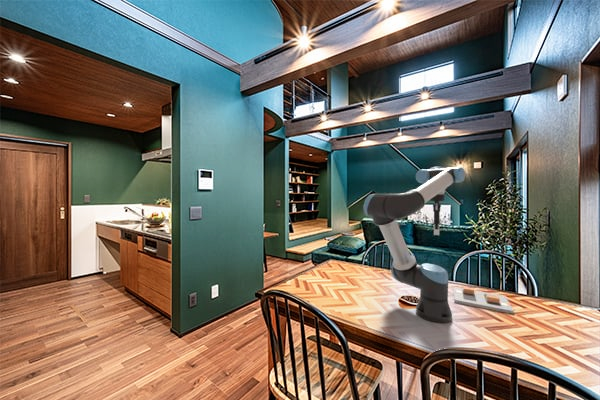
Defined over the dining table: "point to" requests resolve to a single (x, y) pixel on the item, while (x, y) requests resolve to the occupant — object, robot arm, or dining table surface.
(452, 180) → the robot arm
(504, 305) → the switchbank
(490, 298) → the tab
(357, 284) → the dining table surface
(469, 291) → the tab
